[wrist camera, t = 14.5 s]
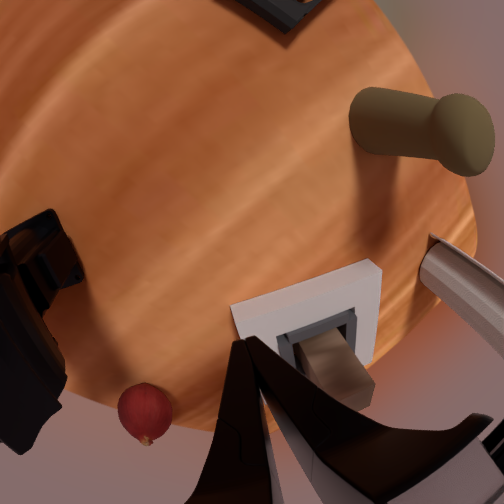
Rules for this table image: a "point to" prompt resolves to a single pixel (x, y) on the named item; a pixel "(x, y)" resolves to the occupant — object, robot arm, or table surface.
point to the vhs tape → (280, 11)
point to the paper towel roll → (467, 290)
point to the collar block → (316, 312)
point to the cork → (424, 128)
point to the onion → (144, 412)
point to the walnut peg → (335, 369)
